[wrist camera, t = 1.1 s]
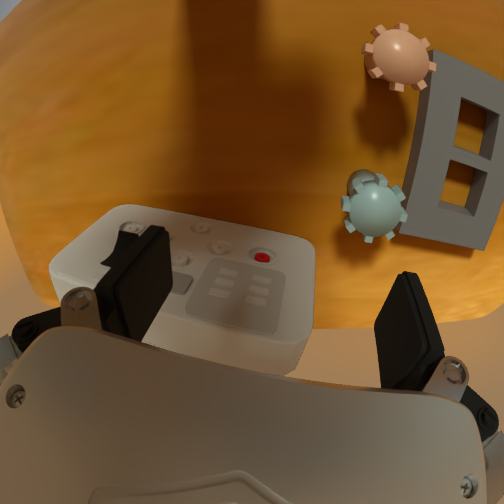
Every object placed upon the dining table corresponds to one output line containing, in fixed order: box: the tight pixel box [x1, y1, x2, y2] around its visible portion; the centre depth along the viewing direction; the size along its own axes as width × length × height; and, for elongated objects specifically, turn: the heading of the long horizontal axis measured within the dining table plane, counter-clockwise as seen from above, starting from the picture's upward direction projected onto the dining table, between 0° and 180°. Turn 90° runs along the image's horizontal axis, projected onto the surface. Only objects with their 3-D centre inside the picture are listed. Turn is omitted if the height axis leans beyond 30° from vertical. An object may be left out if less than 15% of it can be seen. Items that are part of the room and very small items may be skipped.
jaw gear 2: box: [341, 169, 408, 243], centre depth 29 cm, size 7×7×8 cm
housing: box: [396, 50, 504, 251], centre depth 25 cm, size 22×14×3 cm, turn 176°
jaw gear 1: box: [361, 23, 436, 92], centre depth 21 cm, size 7×7×8 cm
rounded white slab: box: [49, 204, 315, 376], centre depth 32 cm, size 29×8×18 cm, turn 82°
